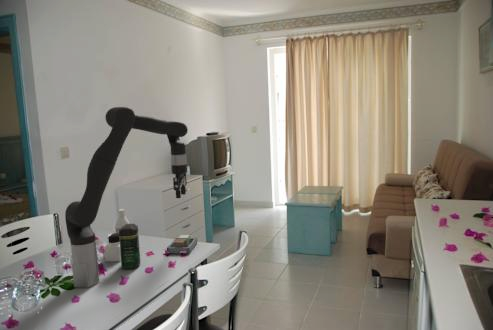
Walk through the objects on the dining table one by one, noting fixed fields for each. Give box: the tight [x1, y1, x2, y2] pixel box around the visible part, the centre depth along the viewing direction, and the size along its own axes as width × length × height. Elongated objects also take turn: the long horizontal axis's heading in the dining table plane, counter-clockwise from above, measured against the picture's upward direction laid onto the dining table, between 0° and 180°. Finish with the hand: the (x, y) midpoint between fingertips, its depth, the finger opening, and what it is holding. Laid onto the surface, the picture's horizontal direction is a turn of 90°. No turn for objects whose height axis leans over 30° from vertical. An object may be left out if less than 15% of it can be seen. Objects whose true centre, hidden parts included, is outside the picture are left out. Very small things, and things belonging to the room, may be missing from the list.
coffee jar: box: [119, 223, 141, 270], centre depth 176 cm, size 10×8×19 cm
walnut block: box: [174, 239, 186, 247], centre depth 193 cm, size 4×4×4 cm
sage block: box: [178, 234, 191, 247], centre depth 199 cm, size 4×4×4 cm
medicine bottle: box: [103, 232, 121, 263], centre depth 185 cm, size 7×7×12 cm
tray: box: [166, 237, 198, 255], centre depth 196 cm, size 15×11×3 cm
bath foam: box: [115, 208, 131, 233], centre depth 199 cm, size 7×7×20 cm
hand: (181, 196), depth 196 cm, fingers open, 8 cm apart
